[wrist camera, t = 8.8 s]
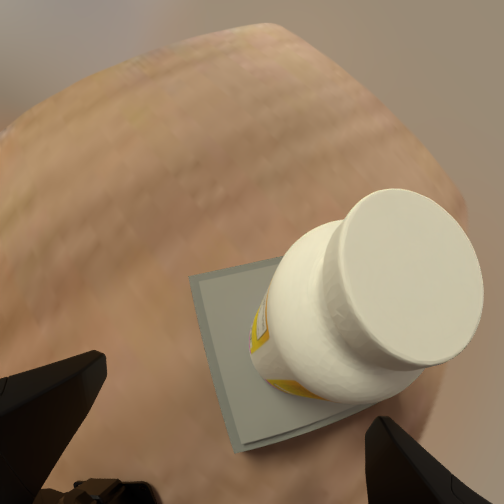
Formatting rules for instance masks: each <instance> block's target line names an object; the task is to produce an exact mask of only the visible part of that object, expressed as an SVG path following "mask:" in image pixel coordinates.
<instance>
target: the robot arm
mask: <svg viewBox="0 0 504 504" xmlns="http://www.w3.org/2000/svg"><path fill="white" fill-rule="evenodd" d="M106 377H107V365H106V356H105V354H103V353H101V352H99V351H96V350H92V351H89V352H86V353H83V354H80V355H76V356H73V357H70V358H67V359H64V360H61V361H58V362H55V363H51V364H48V365H45V366H42V367H38V368H35V369H32V370H29V371H25V372H22V373H18V374H15V375H12V376H9V377H4V378H1V379H0V504H157V502H156V500H155V497H154V495H153V492H152V490H151V487H150V485H149V484H148V483H146V482H144V481H136V482H121V481H120V480H119V479H94V478H90V479H88V480H87V481H76V482H75V483H74V489H73V490H71V491H69V492H66V493H62V492H59V491H56V490H53V489H50V488H48V489H41V488H42V486H43V484H44V483H45V481H46V479H47V478H48V476H49V474H50V473H51V471H52V469H53V468H54V466H55V464H56V463H57V461H58V460H59V458H60V456H61V455H62V453H63V452H64V450H65V449H66V447H67V445H68V444H69V442H70V441H71V439H72V438H73V436H74V434H75V433H76V431H77V430H78V428H79V427H80V425H81V424H82V422H83V421H84V419H85V418H86V416H87V414H88V413H89V411H90V409H91V407H92V405H93V403H94V401H95V399H96V397H97V395H98V393H99V391H100V389H101V387H102V385H103V383H104V381H105V379H106ZM365 474H366V484H367V494H368V504H492V503H490V502H489V501H487V500H486V499H484V498H483V497H481V496H480V495H479V494H477V493H476V492H474V491H473V490H471V489H470V488H469V487H467V486H466V485H465V484H464V483H463V482H461V481H460V480H459V479H458V478H457V477H455V476H454V475H453V474H451V472H450V471H449V470H447V469H446V468H445V467H444V466H443V465H441V463H440V462H438V461H437V460H436V459H435V458H434V457H433V456H432V455H431V454H429V453H428V452H427V451H426V450H425V449H424V448H423V447H422V446H421V445H420V444H418V443H417V442H416V441H415V440H414V439H413V438H412V437H411V436H410V435H409V434H407V433H406V432H405V431H404V430H403V429H402V428H401V427H400V426H399V425H398V424H397V423H395V422H394V421H393V420H392V419H391V418H390V417H388V416H378V417H376V418H375V420H374V421H373V423H372V424H371V426H370V427H369V429H368V430H367V432H366V435H365ZM78 485H79V486H78ZM141 486H144V487H145V488H146V490H144V489H142V488H141Z"/></svg>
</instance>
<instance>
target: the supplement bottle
mask: <svg viewBox="0 0 504 504" xmlns="http://www.w3.org/2000/svg"><path fill="white" fill-rule="evenodd" d="M483 293H484V291H483V281H482V274H481V269H480V265H479V262H478V259H477V256H476V253H475V251H474V248H473V246H472V244H471V242H470V240H469V239H468V237H467V235H466V234H465V232H464V231H463V229H462V228H461V227H460V225H459V224H458V223H457V221H456V220H455V219H454V218H453V217H452V216H451V215H450V214H449V213H448V212H447V211H445V210H444V209H443V208H442V207H441V206H439V205H438V204H437V203H435V202H434V201H433V200H431V199H429V198H427V197H425V196H423V195H421V194H418V193H416V192H413V191H408V190H403V189H385V190H379V191H376V192H374V193H372V194H370V195H368V196H366V197H364V198H363V199H362V200H360V201H359V202H358V203H357V204H356V205H355V206H354V207H353V208H352V209H351V211H350V212H349V213H348V215H347V216H346V217H345V219H344V220H338V221H333V222H329V223H326V224H323V225H321V226H319V227H316V228H314V229H313V230H311V231H309V232H308V233H306V234H305V235H303V236H302V237H301V238H300V239H298V240H297V241H296V242H295V243H294V244H293V245H292V246H291V247H290V249H289V250H288V251H287V252H286V254H285V255H284V257H283V258H282V260H281V262H280V264H279V265H278V267H277V269H276V271H275V273H274V275H273V278H272V280H271V282H270V285H269V287H268V289H267V292H266V294H265V296H264V298H263V300H262V302H261V305H260V307H259V309H258V311H257V313H256V315H255V317H254V320H253V322H252V325H251V329H250V334H249V352H250V356H251V360H252V362H253V365H254V367H255V369H256V370H257V372H258V373H259V375H260V376H261V377H262V378H263V379H264V380H265V381H266V382H267V383H268V384H270V385H271V386H272V387H274V388H276V389H278V390H280V391H282V392H285V393H288V394H292V395H297V396H302V397H308V398H314V399H320V400H325V401H332V402H337V403H344V404H370V403H375V402H379V401H382V400H385V399H388V398H390V397H392V396H394V395H396V394H398V393H400V392H401V391H403V390H404V389H405V388H407V387H408V386H409V385H411V384H412V382H413V381H415V380H416V379H417V378H418V377H419V376H420V374H421V373H422V372H423V371H424V369H425V368H427V367H431V366H435V365H439V364H443V363H445V362H447V361H449V360H451V359H453V358H454V357H456V356H457V355H458V354H460V353H461V352H462V351H463V350H464V349H465V347H466V346H467V345H468V344H469V342H470V341H471V339H472V337H473V336H474V334H475V332H476V329H477V327H478V324H479V321H480V318H481V314H482V309H483V297H484V295H483Z"/></svg>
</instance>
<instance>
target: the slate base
mask: <svg viewBox="0 0 504 504" xmlns="http://www.w3.org/2000/svg"><path fill="white" fill-rule="evenodd" d="M283 257H284V256H281V257H276V258H272V259H267V260H263V261H258V262H253V263H249V264H244V265H240V266H235V267H230V268H226V269H221V270H216V271H212V272H207V273H202V274H198V275H193V276H188V277H189V282H190V286H191V291H192V296H193V301H194V305H195V310H196V314H197V319H198V323H199V327H200V332H201V336H202V340H203V344H204V348H205V352H206V356H207V360H208V364H209V368H210V372H211V376H212V379H213V383H214V387H215V390H216V394H217V398H218V401H219V405H220V408H221V412H222V415H223V418H224V422H225V425H226V428H227V432H228V435H229V438H230V441H231V444H232V448H233V451H234V453H239V452H243V451H247V450H251V449H255V448H259V447H263V446H266V445H270V444H273V443H277V442H280V441H283V440H286V439H290V438H293V437H296V436H299V435H302V434H305V433H307V432H310V431H313V430H316V429H318V428H321V427H324V426H326V425H329V424H331V423H334V422H336V421H339V420H341V419H344V418H346V417H348V416H351V415H353V414H355V413H357V412H360V411H362V410H364V409H366V408H368V407H370V406H373V405H375V404H377V403H379V402H381V401H379V402H375V403H370V404H344V403H337V402H332V401H325V400H320V399H314V398H308V397H302V396H297V395H292V394H288V393H285V392H282V391H280V390H278V389H276V388H274V387H272V386H271V385H270V384H268V383H267V382H266V381H265V380H264V379H263V378H262V377H261V376H260V375H259V373H258V372H257V370H256V369H255V367H254V365H253V362H252V360H251V356H250V352H249V334H250V329H251V325H252V322H253V320H254V317H255V315H256V313H257V311H258V309H259V307H260V305H261V302H262V300H263V298H264V296H265V294H266V292H267V289H268V287H269V285H270V282H271V280H272V278H273V275H274V273H275V271H276V269H277V267H278V265H279V264H280V262H281V260H282V258H283ZM382 401H383V400H382Z"/></svg>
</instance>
